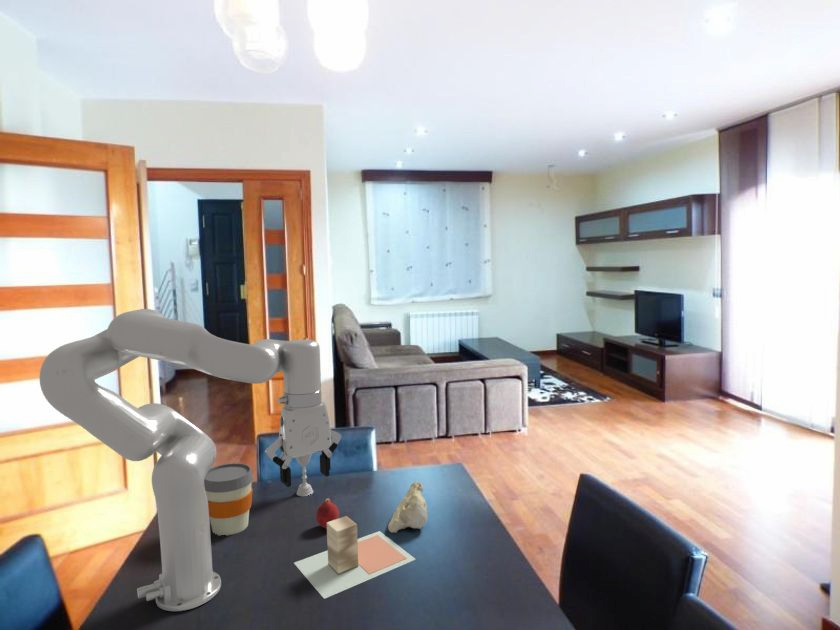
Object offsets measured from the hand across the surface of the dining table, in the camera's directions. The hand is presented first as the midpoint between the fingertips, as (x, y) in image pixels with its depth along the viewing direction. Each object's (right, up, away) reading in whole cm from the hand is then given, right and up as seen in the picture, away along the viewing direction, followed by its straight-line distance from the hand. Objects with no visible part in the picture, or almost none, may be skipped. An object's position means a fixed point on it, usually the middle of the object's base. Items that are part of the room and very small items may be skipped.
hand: (306, 479), depth 109 cm
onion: (0, -21, +24) cm, 32 cm away
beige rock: (+21, -20, +28) cm, 40 cm away
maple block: (+7, -22, +7) cm, 24 cm away
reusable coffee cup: (-26, -21, +26) cm, 43 cm away
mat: (+9, -22, +9) cm, 25 cm away
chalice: (-11, -19, +46) cm, 51 cm away
